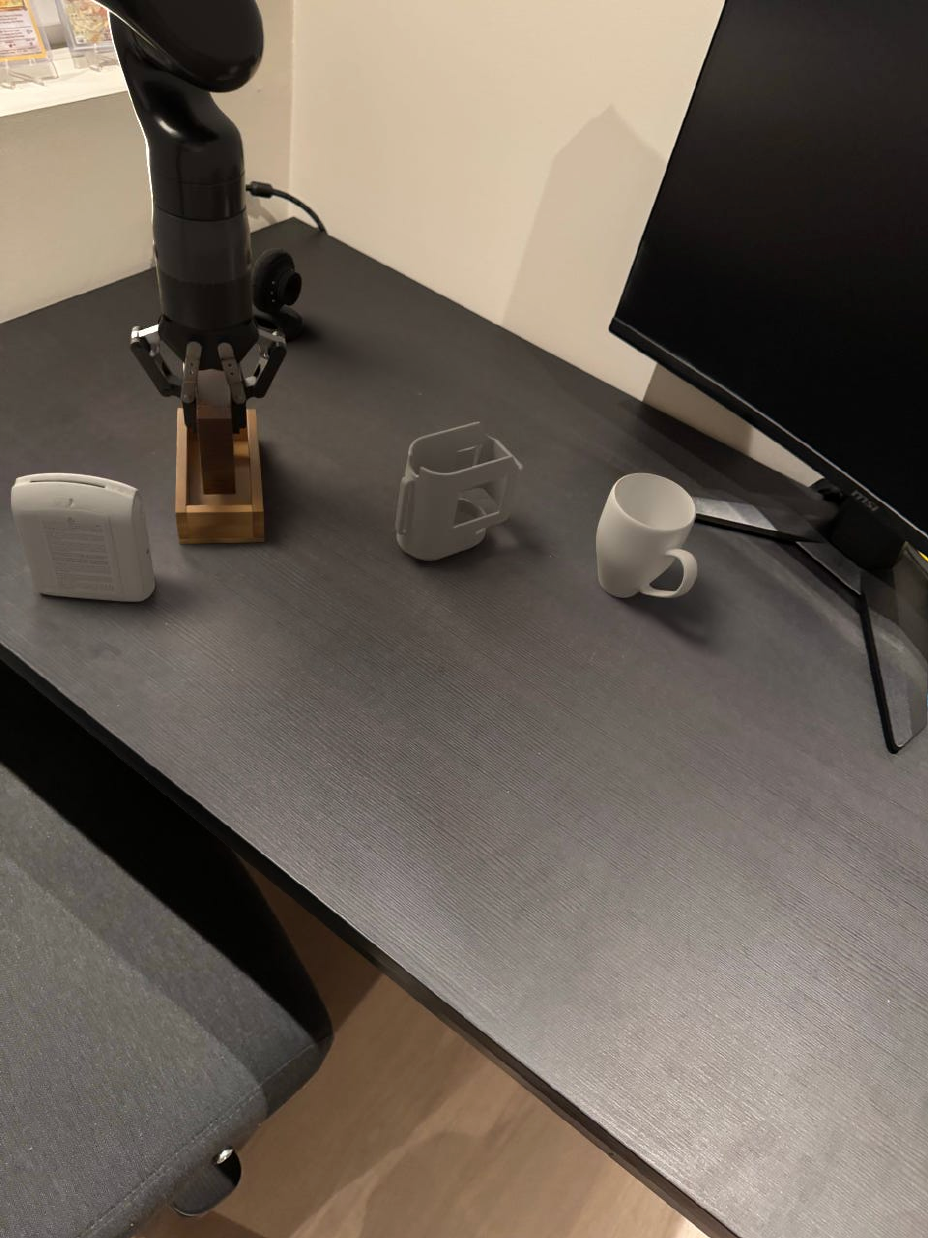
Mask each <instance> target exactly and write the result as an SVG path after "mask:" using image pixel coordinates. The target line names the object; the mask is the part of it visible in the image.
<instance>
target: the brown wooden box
mask: <svg viewBox="0 0 928 1238" xmlns="http://www.w3.org/2000/svg"><path fill="white" fill-rule="evenodd" d="M196 403H197V429H198V439H199V450H200V461H201V472H202V483H203V494H204V495H224V494H236V487H235V465H234V443H233V431H232V410H231V391H230V388H229V385H228V383H227V379H226V376H225V372H224V371H219V370H215V369H208V370H203V371H198V379H197V384H196Z"/></svg>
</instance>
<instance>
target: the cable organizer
mask: <svg viewBox="0 0 928 1238" xmlns="http://www.w3.org/2000/svg"><path fill="white" fill-rule="evenodd" d="M477 446H480V448H479V453H478V458H477V462H476V465H473V464H474V460H475V455H476V451H477ZM405 466H406V467H405V474H404V476H403V477H402V478H401V481H400V487H399V494H398V502H397V508H396V516H395V523H394V530H395V531H396V541H397V543H398V546H399V547H400V548H401V550H403V551H404V552H405V553H406V554H407V555H409V556H412V557H413V558H415V559H417V560H419V561H420V560H421V561H425V562H427V561H428V562H433V561H434V562H435V561H439V560H441V559H443V558H447V557H449V556H452V555H455V554H458V553H460V552H463V551H466V550H469V549H472V548H473V547H475V546H476V545H478V544H480V543H481V542H482V541H483V540H484V538H485V536H486V532H487V528H489V527H493V526H495V525H498V524H501V523H503V522H506V521H508V520H509V518H510V516H511V512H512V509H513V504H514V502H515V497H516V493H517V490H518V486H519V483H520V479H521V475H522V471H523V468H524V466H523V464H522V463H521V462H520V461H519V460H518V459H517V458H516V457H515V456H514V455H513V454H512V452H510V451H509V450H508V448H507V447H506V446H505V445H504V444H503V443H502V442H501V440H498V439H496V438H494V437H492V436H489V435H488V434H487V432H486V431H485V429H484V427H483V424H482V423H481V422H480V420H479V421H475V422H470V423H468V424H464V425H460V426H456V427H452V428H449V429H445V430H442V431H438V432H434V433H430V434H427V435H423V436H421V437H418V438H416V439H414V440H413V441H412V442H411V444H410V445H409V448H408V453H407V460H406V465H405ZM475 489H482V490H483V491H485V492H486V494H488V496H489V497H490V498H491V499H492V500H493V502H495V504H496V505H497V506H498V509H497V511H495V512H492V513H489V514H487V512H486V511H485V510H484V508H483V507H481V506H480V505H479V504H478V503H476V502H474V501H472V500H469V499H467V498H463V497H462V498H461V497H460V494H461V493H463V492H468V491H470V490H475Z"/></svg>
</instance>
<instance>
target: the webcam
mask: <svg viewBox="0 0 928 1238" xmlns="http://www.w3.org/2000/svg"><path fill="white" fill-rule="evenodd" d="M251 269H252V303H253V316H254V318H255V320H256V319H260V320H261V319H262V320H265V321H267V322H269V323H271V324H273V325H274V326H276V327H277V328H275V329H274V328H267V327H264V326H261V325H259V324H258V326H259V329H261V330H263V331H266V332H268V333H270V334H273V333H274V332H276V331H280V332H282V333H283V334H284V335H285V341H290V340H292V339H294V338H296V337H298V335H299V334H300V333H301V332H302V330H303V327H304V323H303V318H302V316H301V315H300V314H299V313H298V312H297V311H296V310H295V309H293V308H292V307H291V306H293V305H294V304H296V302H297V301H298V299H299V297H300V294H301V292H302V287H303V286H302V285H303V281H302V279H303V278H302V276H301V274H300V273H299V272H297V271H296V267H295V263H294V260H293V257H292V256H291V254H290V253H289V252H288V251H286V250H285V249H284V248H278V247H271V248H268V249H266V250H265V251H264V252H262V254H261V255H260V257H258V259H256V262H255V263H254V266H253V268H251Z"/></svg>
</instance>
